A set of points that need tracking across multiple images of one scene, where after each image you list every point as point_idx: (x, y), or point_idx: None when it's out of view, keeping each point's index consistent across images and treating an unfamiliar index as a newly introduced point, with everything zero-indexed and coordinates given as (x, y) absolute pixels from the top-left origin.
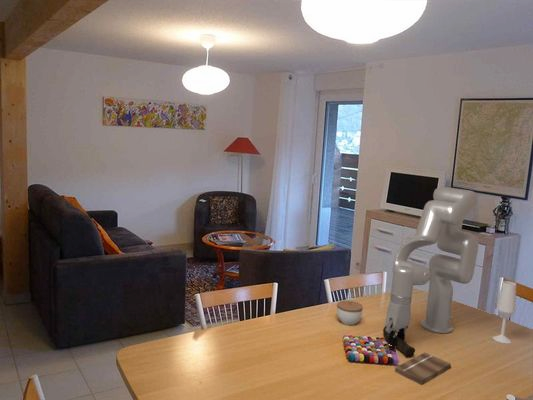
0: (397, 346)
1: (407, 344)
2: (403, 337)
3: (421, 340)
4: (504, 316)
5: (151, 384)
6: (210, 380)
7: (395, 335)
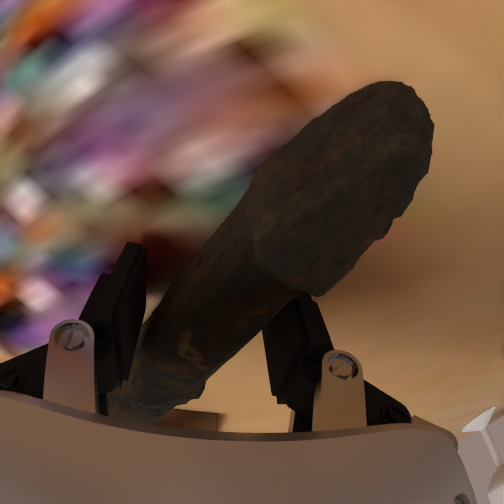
0: (140, 330)
1: (147, 419)
2: (269, 371)
3: (421, 341)
4: (495, 473)
5: None
6: None
7: (100, 400)
